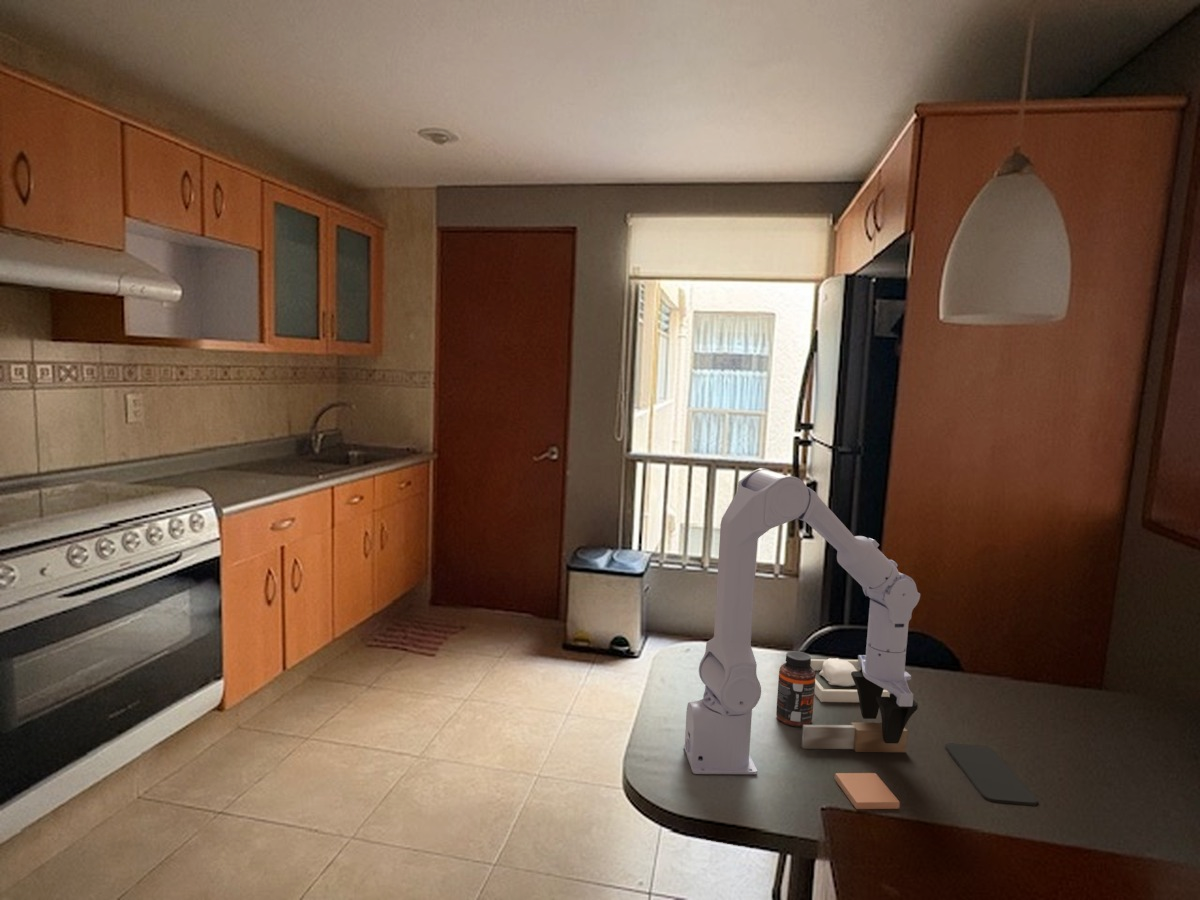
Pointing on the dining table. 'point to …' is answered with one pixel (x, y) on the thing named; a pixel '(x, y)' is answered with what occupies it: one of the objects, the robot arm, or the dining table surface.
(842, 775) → the tile
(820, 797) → the dining table surface
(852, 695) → the garlic dish rim
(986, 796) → the phone
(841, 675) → the white rounded lump
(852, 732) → the scraper
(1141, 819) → the dining table surface
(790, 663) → the supplement bottle
